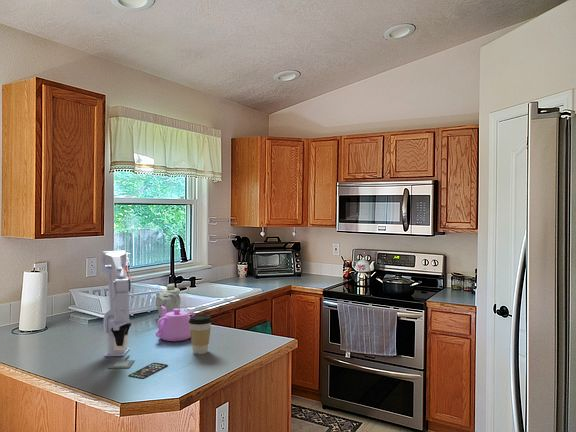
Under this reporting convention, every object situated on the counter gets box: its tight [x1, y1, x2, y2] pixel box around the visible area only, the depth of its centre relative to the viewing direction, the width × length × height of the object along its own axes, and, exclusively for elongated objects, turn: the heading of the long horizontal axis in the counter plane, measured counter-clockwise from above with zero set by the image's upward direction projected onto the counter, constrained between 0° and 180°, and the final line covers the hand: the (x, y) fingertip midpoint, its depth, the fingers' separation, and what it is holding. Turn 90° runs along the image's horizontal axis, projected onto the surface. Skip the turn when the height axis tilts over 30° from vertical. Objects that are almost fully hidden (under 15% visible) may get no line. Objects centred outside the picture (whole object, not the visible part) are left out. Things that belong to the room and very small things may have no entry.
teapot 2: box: [155, 306, 196, 343], centre depth 212 cm, size 22×22×14 cm
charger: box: [114, 334, 128, 350], centre depth 174 cm, size 4×4×5 cm
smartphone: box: [127, 362, 169, 380], centre depth 168 cm, size 7×1×15 cm
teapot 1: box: [155, 283, 182, 319], centre depth 249 cm, size 16×15×19 cm
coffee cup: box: [189, 314, 213, 355], centre depth 190 cm, size 10×10×15 cm
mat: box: [107, 359, 135, 370], centre depth 174 cm, size 8×8×1 cm
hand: (121, 343), depth 174 cm, fingers closed on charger, 4 cm apart
